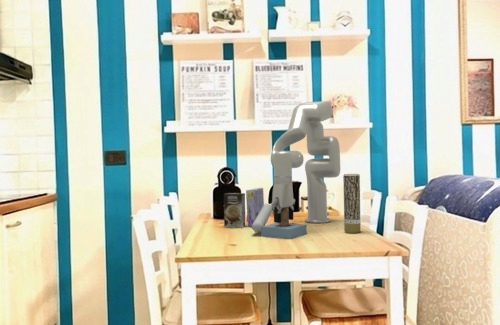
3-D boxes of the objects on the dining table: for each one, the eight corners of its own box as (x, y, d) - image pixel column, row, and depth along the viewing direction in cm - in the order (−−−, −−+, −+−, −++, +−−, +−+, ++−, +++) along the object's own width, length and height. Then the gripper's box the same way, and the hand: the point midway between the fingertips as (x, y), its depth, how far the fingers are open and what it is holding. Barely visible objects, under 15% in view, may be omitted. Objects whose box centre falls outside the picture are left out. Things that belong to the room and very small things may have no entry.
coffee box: (223, 227, 217) (223, 193, 217) (227, 225, 224) (226, 192, 223) (242, 228, 215) (241, 193, 215) (245, 226, 221) (245, 192, 221)
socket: (279, 231, 204) (279, 222, 204) (306, 233, 196) (306, 224, 196) (261, 236, 193) (260, 226, 193) (289, 239, 185) (289, 229, 185)
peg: (282, 233, 198) (282, 206, 197) (290, 234, 195) (290, 206, 195) (277, 235, 194) (277, 206, 194) (285, 236, 192) (285, 207, 192)
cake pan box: (256, 221, 237) (255, 187, 236) (265, 221, 235) (265, 187, 235) (246, 227, 218) (245, 190, 218) (256, 227, 217) (255, 190, 216)
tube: (265, 226, 192) (275, 207, 215) (253, 220, 192) (265, 201, 216) (259, 236, 193) (269, 216, 217) (248, 230, 194) (260, 210, 217)
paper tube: (347, 230, 202) (346, 173, 202) (362, 231, 199) (361, 173, 199) (342, 233, 197) (341, 174, 196) (357, 234, 193) (356, 174, 193)
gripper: (286, 179, 203) (287, 218, 204) (264, 181, 190) (264, 223, 190) (301, 179, 199) (301, 219, 199) (279, 182, 185) (280, 224, 185)
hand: (283, 221), depth 195 cm, fingers open, 9 cm apart
